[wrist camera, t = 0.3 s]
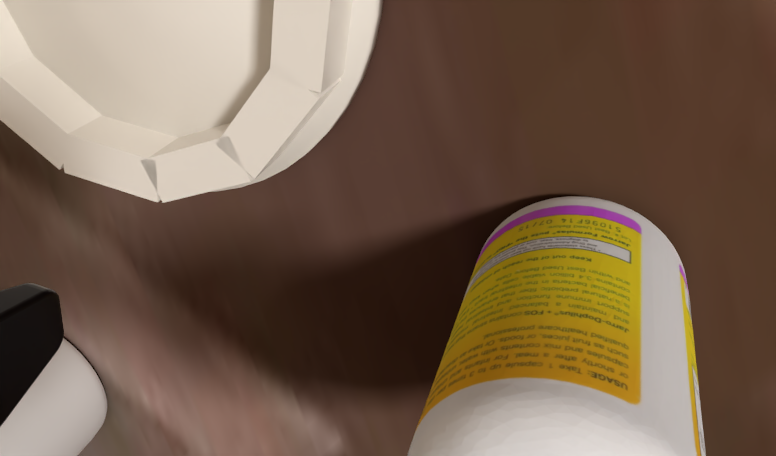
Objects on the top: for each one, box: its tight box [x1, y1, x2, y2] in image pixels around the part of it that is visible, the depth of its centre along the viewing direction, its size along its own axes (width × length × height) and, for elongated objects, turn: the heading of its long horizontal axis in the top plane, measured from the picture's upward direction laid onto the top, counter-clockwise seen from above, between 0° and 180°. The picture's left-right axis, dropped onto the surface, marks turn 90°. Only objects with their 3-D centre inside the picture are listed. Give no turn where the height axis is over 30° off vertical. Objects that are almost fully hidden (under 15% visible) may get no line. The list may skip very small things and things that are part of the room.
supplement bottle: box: [408, 196, 706, 456], centre depth 17 cm, size 7×7×13 cm
